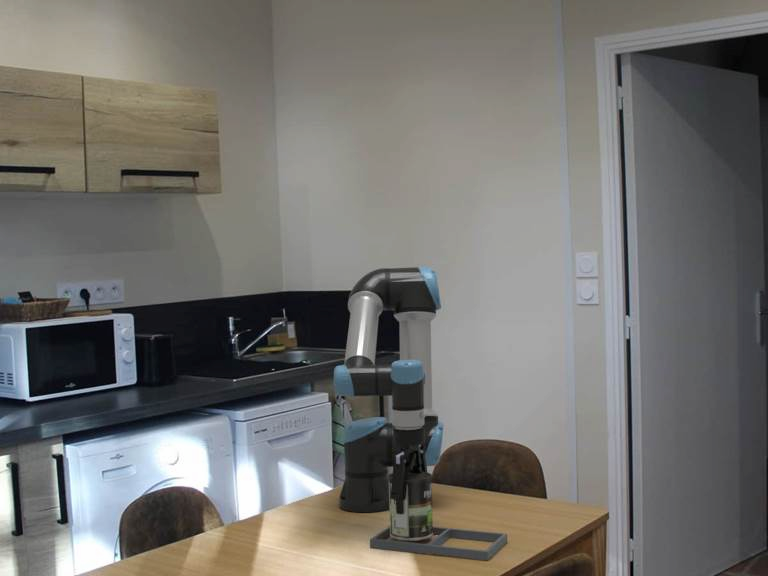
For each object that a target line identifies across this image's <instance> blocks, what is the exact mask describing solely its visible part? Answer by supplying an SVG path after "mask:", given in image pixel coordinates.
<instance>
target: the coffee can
mask: <svg viewBox="0 0 768 576" xmlns="http://www.w3.org/2000/svg"><path fill="white" fill-rule="evenodd" d="M392 474H393V472H392V473H390V474H388V480H389V509H388V510H389V527H390V536H391V537H392V538H394V539H397V540H403V541H418V540H424V539H428V538H430V537H432V536H433V527H434V522H433V520H434V519H433V491H432V489H433V487H432V483H433V482H432V480H433V475H432V474H431V473H430V472H428V471H427V472H423V471H422V472H421V473H411V472H410V475H409V480H407V481H406V480H404V482H405V481H406V483H407V492H406V498H405V499H407V504H408V528H400V527H396V509H395V499H391V486H392ZM398 494H399V493H398Z"/></svg>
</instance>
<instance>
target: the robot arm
mask: <svg viewBox="0 0 768 576" xmlns="http://www.w3.org/2000/svg"><path fill="white" fill-rule="evenodd" d="M441 308H442V304H441V297H440V290H439V285H438V278H437V272H436V271H435V269H433V268H432V267H420V266H417V267H395V268H391V267H389V268H386V267H384V268H377V269H373V270H372V271H370V272H368V273H366V274H364V276H362V277H361V278H360V279H359V280H358V281H357V282H356V284H355V285H354V286H353V287H352V290H351V291H350V293H349V296H348V300H347V309H348V311H349V313H350V315H349V324H348V332H347V339H346V347H345V354H344V355H345V357H344V363H343V364H342V365H337V366H335V367H334V369H333V390H334V392H335V394H336V395H337V396H339V397H352V398H354V397H373V396H374V397H379V396H380V397H381V396H383V397H384V396H386V397H387V396H388V397H389V396H391V402H392V405H391V407H392V408H391V422H388V420H387V418H386V417H385V416H381V417H380V416H374V417H372V416H371V417H366V418H360V419H355V420H353V421H351V422H349V423H347V424H346V425H345V426H344V431H343V432H344V433H343V445H344V447H343V448H344V450H343V451H344V481H343V484H342V487H341V490H340V494H339V497H338V503H339V504H338V506H339V508H340V509H342V510H344V511H346V512H347V511H348V512H354V513H375V512H382V511H388V510H390V509H389V480H388V475H389V467H390V468H392V473H393V474H392V473H391V474H392V486H391V499H395V509H396V527H400V528H408V504H407V499H405V498H406V492H407V483H406V481H407V480H409V475H410V472H411V473H421V472H422V471H423V472H428V467H434V466H436V465H438V464H439V463H440V460H441V453H442V446H443V445H442V444H443V435H444V423H443V422H442V421H439V415H438V413H436V412H435V411H434V409H433V383H432V382H433V376H432V375H433V374H432V373H433V371H432V334H431V333H432V332H431V331H432V328H431V327H432V325H431V323H432V321H433V320H434V319H435V318H436V317H437V311H439V310H441ZM383 311H393V317H394V318H395V319H396V321H397V322H398V323H399V359H398V360H395V361H393V362H392V363H391V364H375V363H376V362H375V361H376V353H377V352H376V351H377V341H378V339H377V338H378V329H379V328H378V327H379V316H380V315H381V314H382V312H383ZM404 480H406V481H405V482H404ZM398 493H399V494H398Z"/></svg>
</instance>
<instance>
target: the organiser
mask: <svg viewBox="0 0 768 576" xmlns="http://www.w3.org/2000/svg"><path fill="white" fill-rule="evenodd" d="M436 535H438V536H436ZM450 537H452V538H450ZM449 539H461V540H470V539H471V541H479V540H483V541H482V542H489V541H491V542H492V544H491V545H489V546H488V547H487V548H486V549H485V550H484V549H475V548H466V547H457V546H456V547H454V546H449V545H448V546H447V545H446V546H445V545H443V544H444V543H446V540H447V541H448V540H449ZM442 543H443V544H442ZM507 543H508V533H504V532H503V533H502V532H493V531H482V530H472V529H471V530H470V529H463V528H453V527H443V526H442V527H440V526H433V536H432V537H430V538H428V539H424V540H418V541H403V540H397V539H394V538H392V537H391V536H390V526H388V527H387V528H385V529H384V530H382V531H381V532H379V533H377V534H376V535H375V536H373V537H371V538H370V539H369V548H370V549H377V550H385V551H386V550H387V551H395V552H404V553H412V552H416V553H415V554H421V553H429V554H428V555H430V554H436V555H435V556H439V555H444V556H443V557H448V556H452V557H451V558H457V557H460V558H459V559H466V558H470V559H469V560H475V559H479V560H478V561H484V560H487V561H486V562H488V561H489V560H491V558H492V557H493V556H495V554H497V553H498V552H499V551H500V550H501V549H502V548H504V546H505V545H506V544H507ZM441 544H442V545H441ZM417 552H418V553H417ZM420 552H421V553H420Z"/></svg>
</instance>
